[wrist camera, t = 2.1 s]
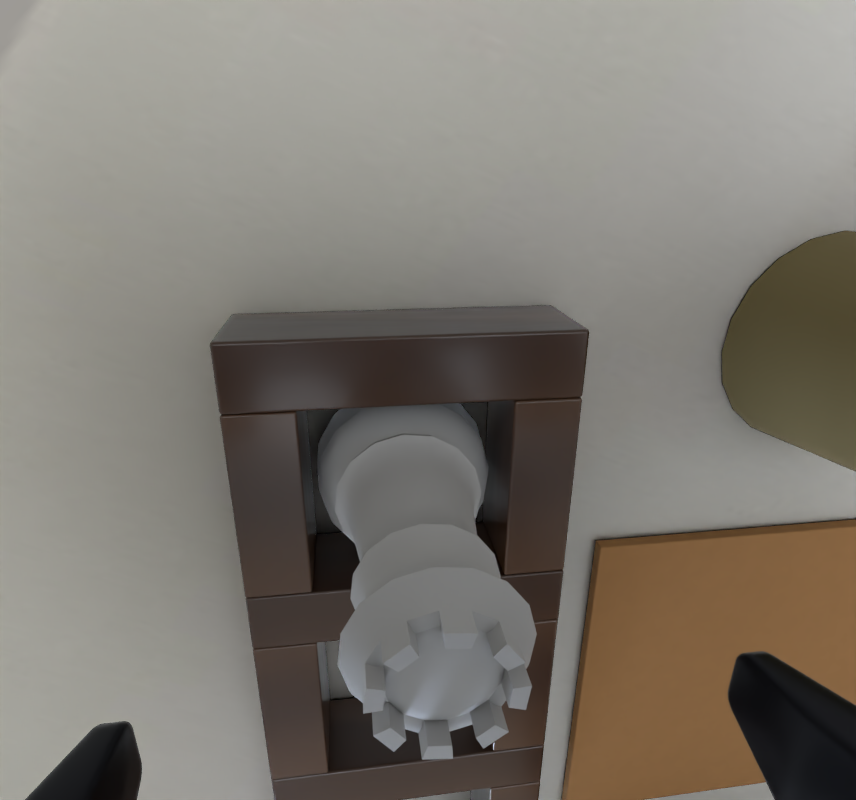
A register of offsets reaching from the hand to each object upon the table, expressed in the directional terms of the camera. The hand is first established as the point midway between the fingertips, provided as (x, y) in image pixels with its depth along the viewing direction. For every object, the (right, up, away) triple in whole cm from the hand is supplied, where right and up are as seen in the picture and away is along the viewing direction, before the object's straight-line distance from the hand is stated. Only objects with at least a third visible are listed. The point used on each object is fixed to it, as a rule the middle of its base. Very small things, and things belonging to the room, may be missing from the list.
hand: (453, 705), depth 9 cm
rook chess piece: (-1, +3, +8) cm, 8 cm away
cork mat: (+11, -5, +12) cm, 17 cm away
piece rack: (-1, -3, +10) cm, 10 cm away
